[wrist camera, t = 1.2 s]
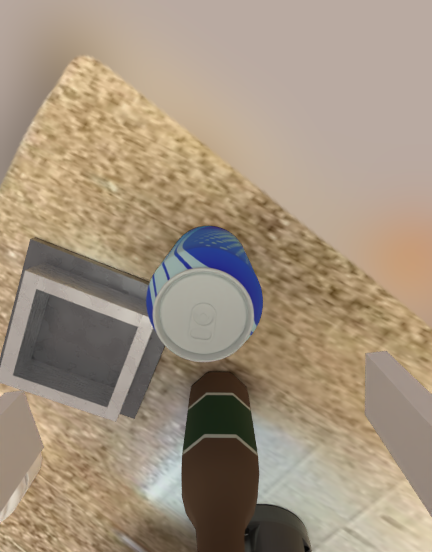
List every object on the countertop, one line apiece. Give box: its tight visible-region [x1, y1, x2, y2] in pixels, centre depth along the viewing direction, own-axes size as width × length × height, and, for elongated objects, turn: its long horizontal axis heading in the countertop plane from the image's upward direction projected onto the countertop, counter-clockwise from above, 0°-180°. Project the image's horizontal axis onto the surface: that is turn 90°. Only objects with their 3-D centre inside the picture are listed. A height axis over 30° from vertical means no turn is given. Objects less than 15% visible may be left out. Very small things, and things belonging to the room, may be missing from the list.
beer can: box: [146, 226, 263, 362], centre depth 27 cm, size 8×8×16 cm
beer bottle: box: [182, 372, 259, 552], centre depth 28 cm, size 8×8×24 cm
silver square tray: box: [0, 238, 165, 422], centre depth 35 cm, size 18×18×4 cm
